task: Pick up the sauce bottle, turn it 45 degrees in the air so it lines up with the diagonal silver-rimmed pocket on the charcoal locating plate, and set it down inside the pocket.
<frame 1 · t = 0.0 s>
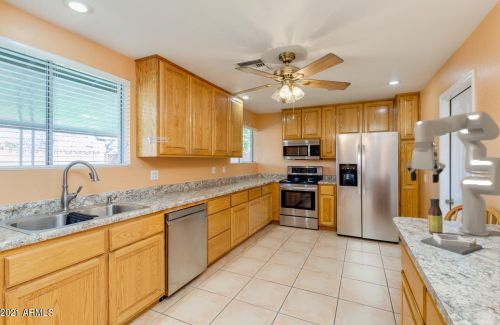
hand: (424, 181, 114), 31 cm above the countertop, tool pointing down, fingers open, 9 cm apart
locating plate: (450, 245, 115), on the countertop
sauce bottle: (435, 234, 132), on the countertop
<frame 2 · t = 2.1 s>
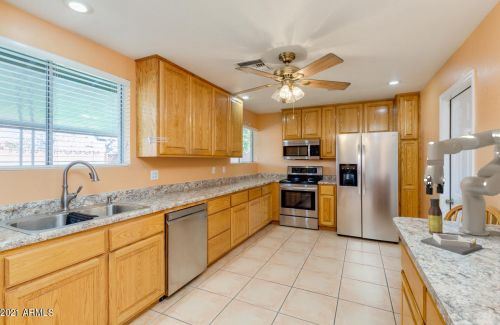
hand: (434, 194, 131), 22 cm above the countertop, tool pointing down, fingers open, 9 cm apart
nothing on the countertop moved.
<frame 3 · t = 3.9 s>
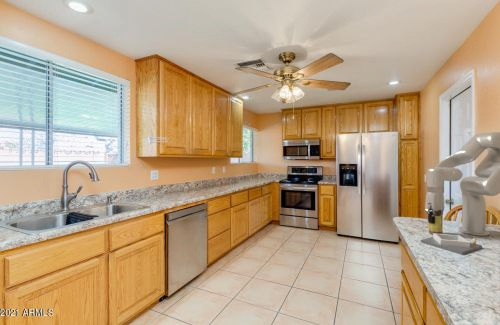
hand: (435, 222, 132), 7 cm above the countertop, tool pointing down, fingers closed on sauce bottle, 6 cm apart
sauce bottle: (435, 234, 132), on the countertop, touching gripper
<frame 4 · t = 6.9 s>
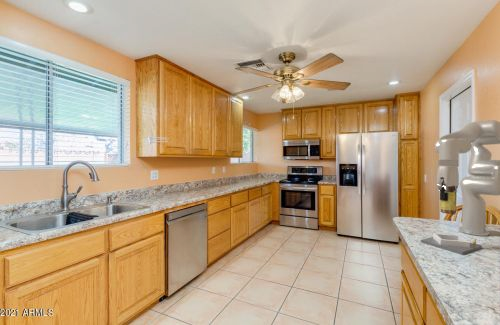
hand: (448, 199, 116), 22 cm above the countertop, tool pointing down, fingers closed on sauce bottle, 6 cm apart
sauce bottle: (447, 213, 117), point 15 cm above the countertop, touching gripper
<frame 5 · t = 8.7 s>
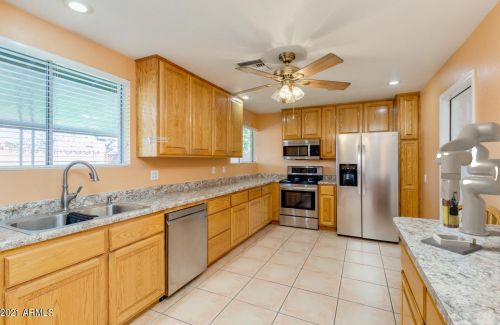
hand: (450, 213, 115), 16 cm above the countertop, tool pointing down, fingers closed on sauce bottle, 6 cm apart
sauce bottle: (450, 227, 115), point 9 cm above the countertop, touching gripper
when the fingers open (9 cm above the countertop, at t = 10.2 s): sauce bottle drops 1 cm, resting on locating plate.
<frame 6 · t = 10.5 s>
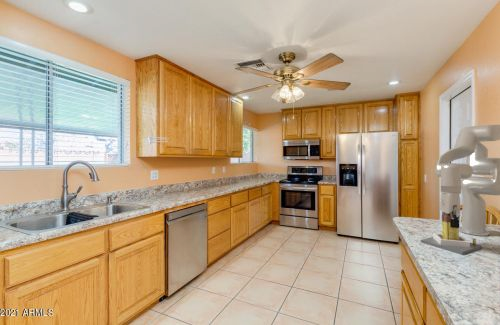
hand: (450, 224, 115), 10 cm above the countertop, tool pointing down, fingers open, 9 cm apart
sauce bottle: (450, 242, 115), point 1 cm above the countertop, touching locating plate
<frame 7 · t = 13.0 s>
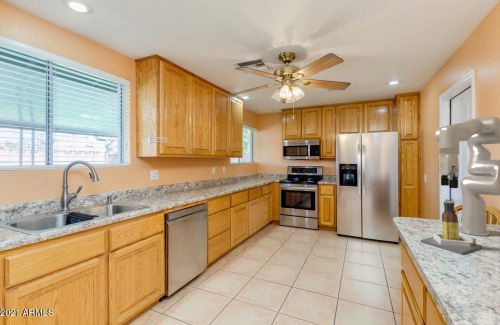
hand: (449, 186, 116), 28 cm above the countertop, tool pointing down, fingers open, 9 cm apart
nothing on the countertop moved.
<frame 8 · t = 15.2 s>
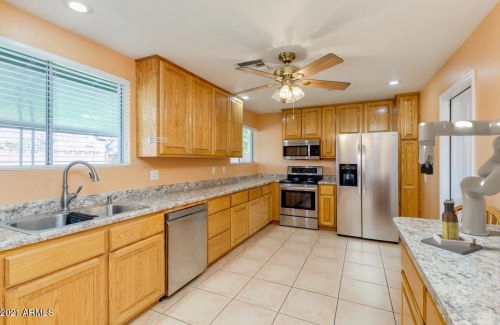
hand: (426, 174, 134), 33 cm above the countertop, tool pointing down, fingers open, 9 cm apart
nothing on the countertop moved.
at the end: sauce bottle 0.3 cm from the locating plate (horizontally); sauce bottle point 1.0 cm above the countertop; sauce bottle tilted 0° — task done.
